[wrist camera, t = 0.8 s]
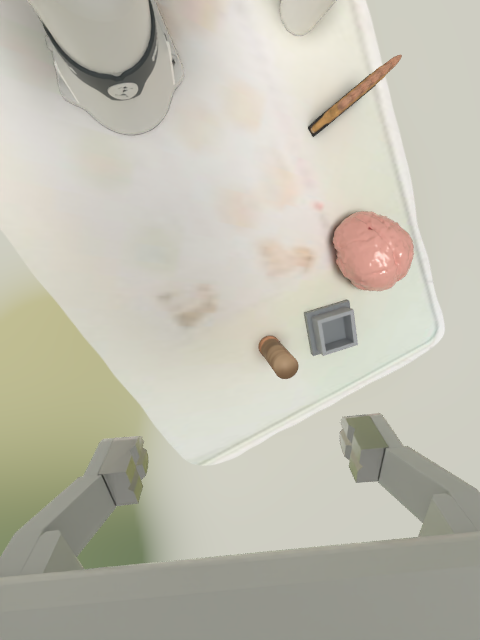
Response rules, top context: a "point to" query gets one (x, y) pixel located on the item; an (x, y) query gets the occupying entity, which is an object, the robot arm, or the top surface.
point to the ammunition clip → (352, 96)
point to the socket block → (331, 328)
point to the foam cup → (303, 14)
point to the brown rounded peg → (278, 357)
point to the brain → (372, 251)
